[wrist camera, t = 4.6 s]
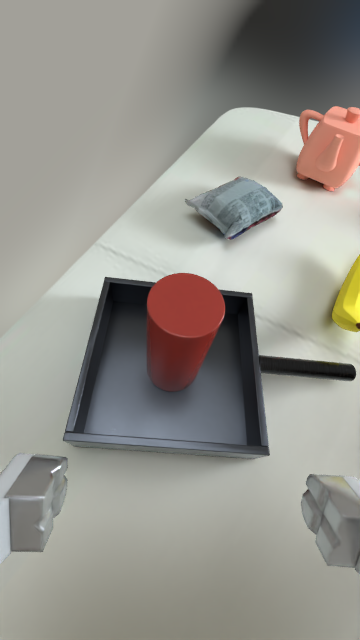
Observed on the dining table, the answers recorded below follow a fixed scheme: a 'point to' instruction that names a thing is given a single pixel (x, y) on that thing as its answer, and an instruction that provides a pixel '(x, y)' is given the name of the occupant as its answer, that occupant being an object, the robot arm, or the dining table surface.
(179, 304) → the red cylinder
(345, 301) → the banana
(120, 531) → the dining table surface
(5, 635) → the dining table surface
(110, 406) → the steel pan
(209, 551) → the dining table surface
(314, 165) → the teapot
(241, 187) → the packaged food
